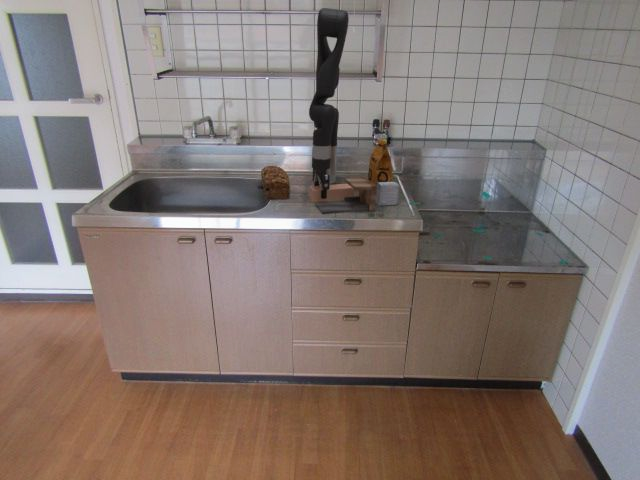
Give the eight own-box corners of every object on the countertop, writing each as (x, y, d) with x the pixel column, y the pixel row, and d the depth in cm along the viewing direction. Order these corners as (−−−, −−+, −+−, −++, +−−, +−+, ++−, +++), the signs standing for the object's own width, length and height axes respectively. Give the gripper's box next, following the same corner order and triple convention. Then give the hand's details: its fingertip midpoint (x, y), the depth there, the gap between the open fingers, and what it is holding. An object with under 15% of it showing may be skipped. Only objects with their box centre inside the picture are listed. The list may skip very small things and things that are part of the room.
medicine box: (393, 201, 182) (395, 181, 179) (397, 205, 178) (399, 184, 175) (375, 202, 181) (377, 182, 177) (378, 206, 177) (380, 185, 173)
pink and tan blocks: (314, 204, 176) (314, 180, 172) (362, 200, 182) (364, 177, 178) (323, 215, 166) (324, 189, 162) (374, 210, 172) (376, 185, 168)
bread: (261, 186, 196) (260, 164, 192) (285, 185, 198) (285, 164, 194) (264, 200, 179) (264, 177, 175) (290, 199, 181) (290, 176, 177)
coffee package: (369, 195, 189) (374, 144, 179) (365, 186, 200) (369, 137, 191) (392, 195, 189) (398, 144, 180) (387, 186, 200) (392, 138, 191)
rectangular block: (308, 197, 183) (308, 186, 181) (348, 194, 188) (349, 183, 186) (312, 202, 178) (312, 190, 176) (354, 199, 183) (354, 187, 181)
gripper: (307, 152, 179) (306, 190, 185) (318, 161, 167) (317, 201, 173) (324, 151, 181) (323, 189, 188) (336, 159, 169) (335, 200, 175)
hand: (320, 195), depth 180 cm, fingers open, 8 cm apart
